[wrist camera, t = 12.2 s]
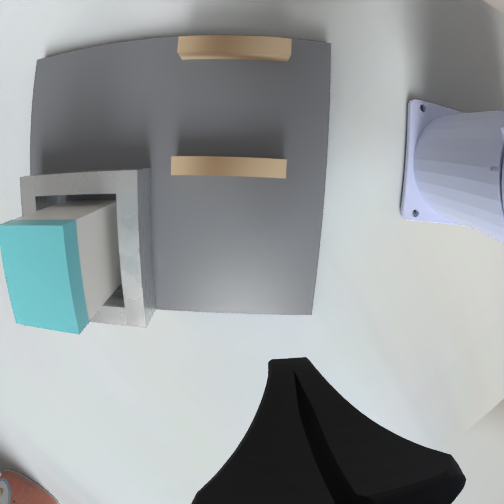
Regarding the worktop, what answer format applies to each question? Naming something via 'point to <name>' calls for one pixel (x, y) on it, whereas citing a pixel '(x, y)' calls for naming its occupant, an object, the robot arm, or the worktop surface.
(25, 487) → the canned food
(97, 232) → the plug
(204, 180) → the panel board
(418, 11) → the worktop surface
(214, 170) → the wooden parallel rails
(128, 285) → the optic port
